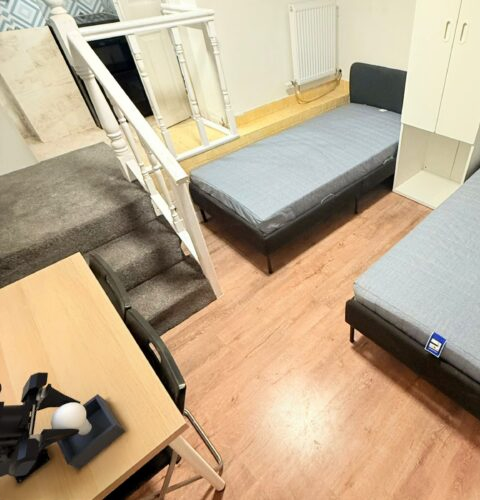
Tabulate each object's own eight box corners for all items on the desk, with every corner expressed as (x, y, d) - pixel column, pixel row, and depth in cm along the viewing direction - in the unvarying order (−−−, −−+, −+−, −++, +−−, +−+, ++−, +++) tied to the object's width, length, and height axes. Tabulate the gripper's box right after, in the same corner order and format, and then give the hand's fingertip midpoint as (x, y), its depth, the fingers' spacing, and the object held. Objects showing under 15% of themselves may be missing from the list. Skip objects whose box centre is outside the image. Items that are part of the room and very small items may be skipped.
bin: (79, 470, 74) (67, 464, 71) (62, 435, 79) (50, 429, 76) (125, 431, 79) (116, 424, 76) (106, 401, 85) (97, 393, 81)
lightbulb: (87, 449, 75) (59, 432, 67) (66, 439, 76) (37, 422, 69) (107, 421, 79) (84, 403, 71) (87, 412, 80) (62, 394, 73)
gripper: (-20, 402, 71) (67, 400, 82) (-46, 500, 59) (61, 482, 70) (-2, 369, 68) (86, 371, 79) (-25, 466, 55) (83, 453, 66)
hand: (79, 417), depth 73 cm, fingers closed on lightbulb, 6 cm apart
